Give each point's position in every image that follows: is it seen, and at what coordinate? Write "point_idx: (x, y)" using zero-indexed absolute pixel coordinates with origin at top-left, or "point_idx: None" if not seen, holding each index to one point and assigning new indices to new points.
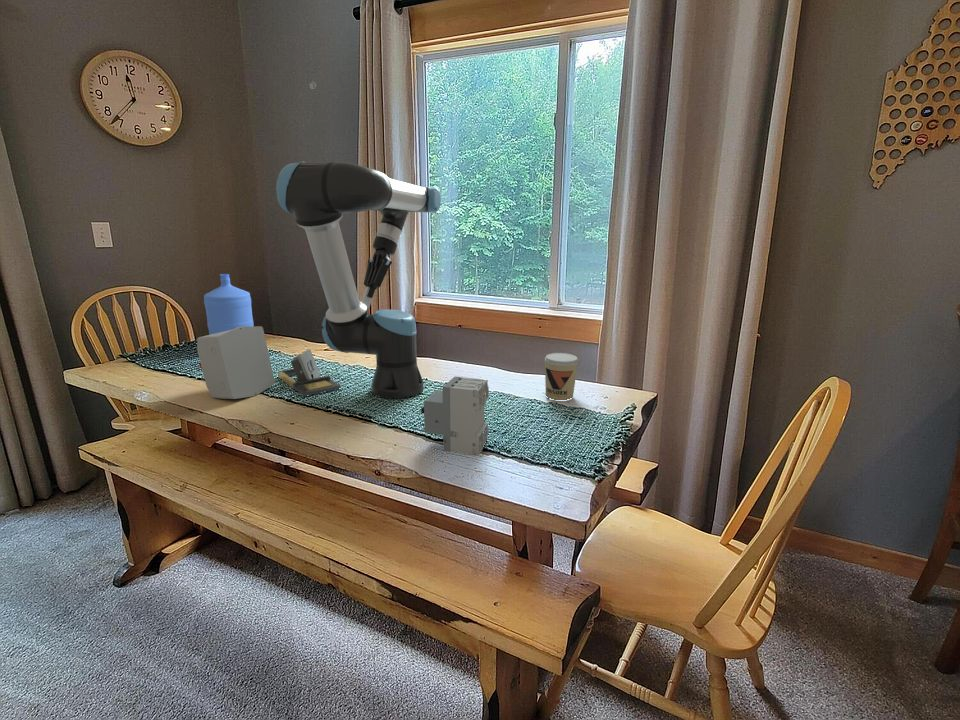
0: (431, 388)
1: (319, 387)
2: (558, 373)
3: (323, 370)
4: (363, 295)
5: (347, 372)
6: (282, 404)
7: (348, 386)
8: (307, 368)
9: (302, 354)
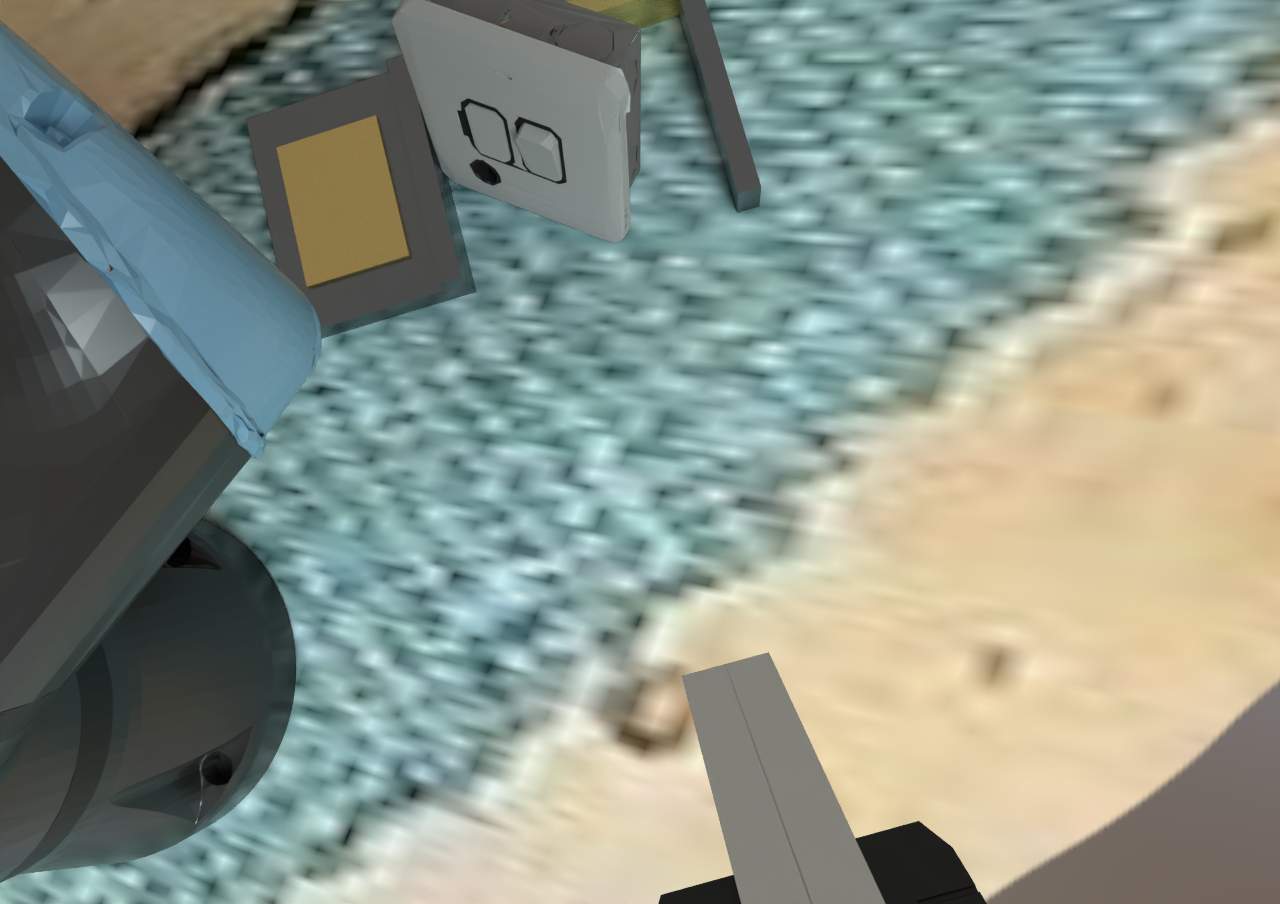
0: (85, 890)
1: (290, 209)
2: None
3: (746, 280)
4: (824, 808)
5: (632, 435)
6: (199, 24)
7: (336, 395)
8: (444, 112)
9: (450, 25)
